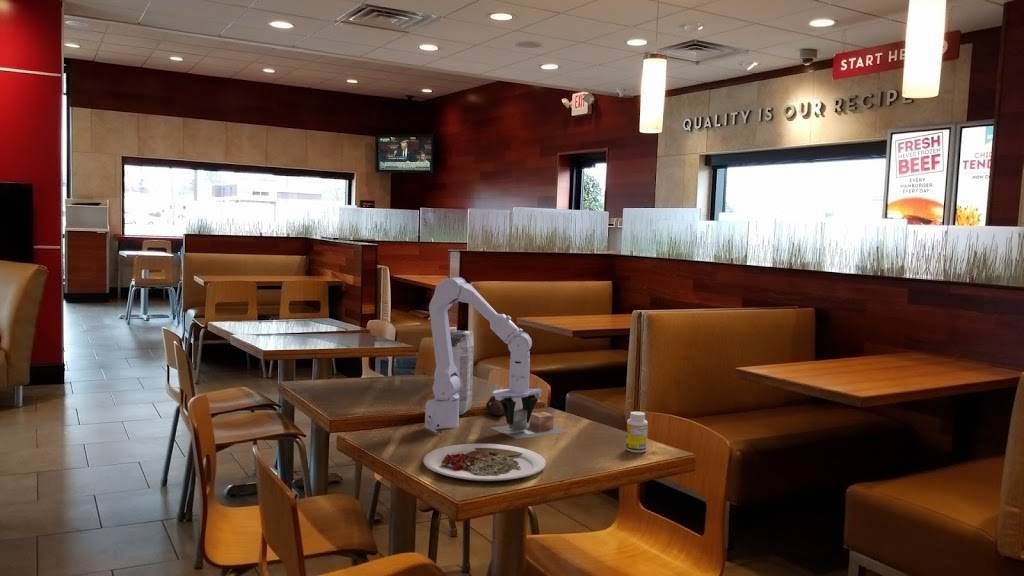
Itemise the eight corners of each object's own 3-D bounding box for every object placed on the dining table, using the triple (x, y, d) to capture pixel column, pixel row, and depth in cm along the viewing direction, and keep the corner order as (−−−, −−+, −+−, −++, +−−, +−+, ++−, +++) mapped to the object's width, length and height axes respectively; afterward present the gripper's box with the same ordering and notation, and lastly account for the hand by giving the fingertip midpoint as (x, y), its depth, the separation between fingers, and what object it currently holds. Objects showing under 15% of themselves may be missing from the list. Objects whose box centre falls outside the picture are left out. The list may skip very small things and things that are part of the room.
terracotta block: (539, 430, 226) (539, 417, 225) (529, 426, 230) (529, 413, 230) (553, 429, 228) (553, 415, 228) (543, 425, 232) (543, 411, 232)
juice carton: (473, 409, 255) (476, 326, 253) (463, 416, 245) (466, 330, 243) (447, 407, 257) (450, 325, 255) (437, 413, 247) (439, 328, 245)
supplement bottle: (628, 446, 216) (630, 409, 215) (648, 449, 213) (650, 412, 213) (623, 451, 210) (624, 413, 210) (643, 454, 208) (645, 416, 208)
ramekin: (487, 405, 263) (487, 389, 262) (517, 403, 267) (518, 387, 267) (499, 412, 252) (500, 396, 252) (531, 410, 257) (532, 394, 256)
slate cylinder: (515, 430, 221) (515, 413, 220) (505, 427, 225) (506, 409, 225) (530, 429, 223) (530, 411, 223) (520, 425, 228) (521, 408, 227)
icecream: (517, 402, 238) (504, 396, 253) (494, 396, 236) (482, 391, 251) (511, 424, 238) (498, 417, 252) (488, 419, 236) (477, 412, 250)
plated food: (569, 477, 188) (570, 463, 187) (455, 493, 173) (456, 478, 172) (507, 445, 213) (508, 433, 213) (404, 458, 199) (404, 445, 198)
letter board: (516, 442, 216) (516, 438, 216) (489, 430, 228) (489, 427, 228) (568, 435, 226) (568, 431, 226) (540, 424, 237) (540, 421, 237)
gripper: (505, 380, 216) (503, 428, 217) (548, 376, 224) (546, 423, 225) (492, 375, 222) (490, 423, 223) (534, 372, 230) (532, 418, 231)
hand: (517, 422), depth 224 cm, fingers closed on slate cylinder, 5 cm apart
